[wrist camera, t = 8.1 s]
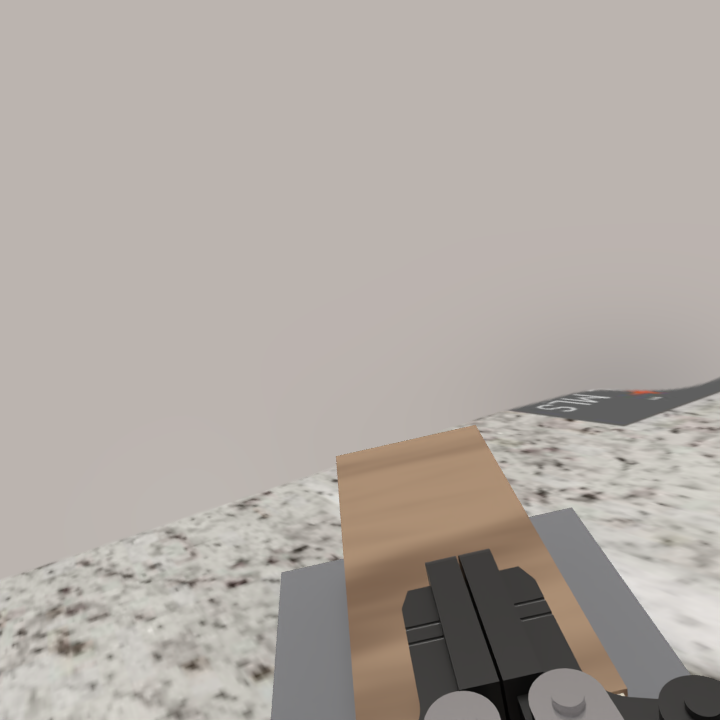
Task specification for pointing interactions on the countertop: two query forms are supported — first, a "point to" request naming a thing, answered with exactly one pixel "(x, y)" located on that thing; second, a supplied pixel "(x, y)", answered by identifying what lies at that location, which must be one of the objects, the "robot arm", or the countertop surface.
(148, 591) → the countertop surface
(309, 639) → the mat
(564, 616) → the light wood block
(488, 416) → the countertop surface
